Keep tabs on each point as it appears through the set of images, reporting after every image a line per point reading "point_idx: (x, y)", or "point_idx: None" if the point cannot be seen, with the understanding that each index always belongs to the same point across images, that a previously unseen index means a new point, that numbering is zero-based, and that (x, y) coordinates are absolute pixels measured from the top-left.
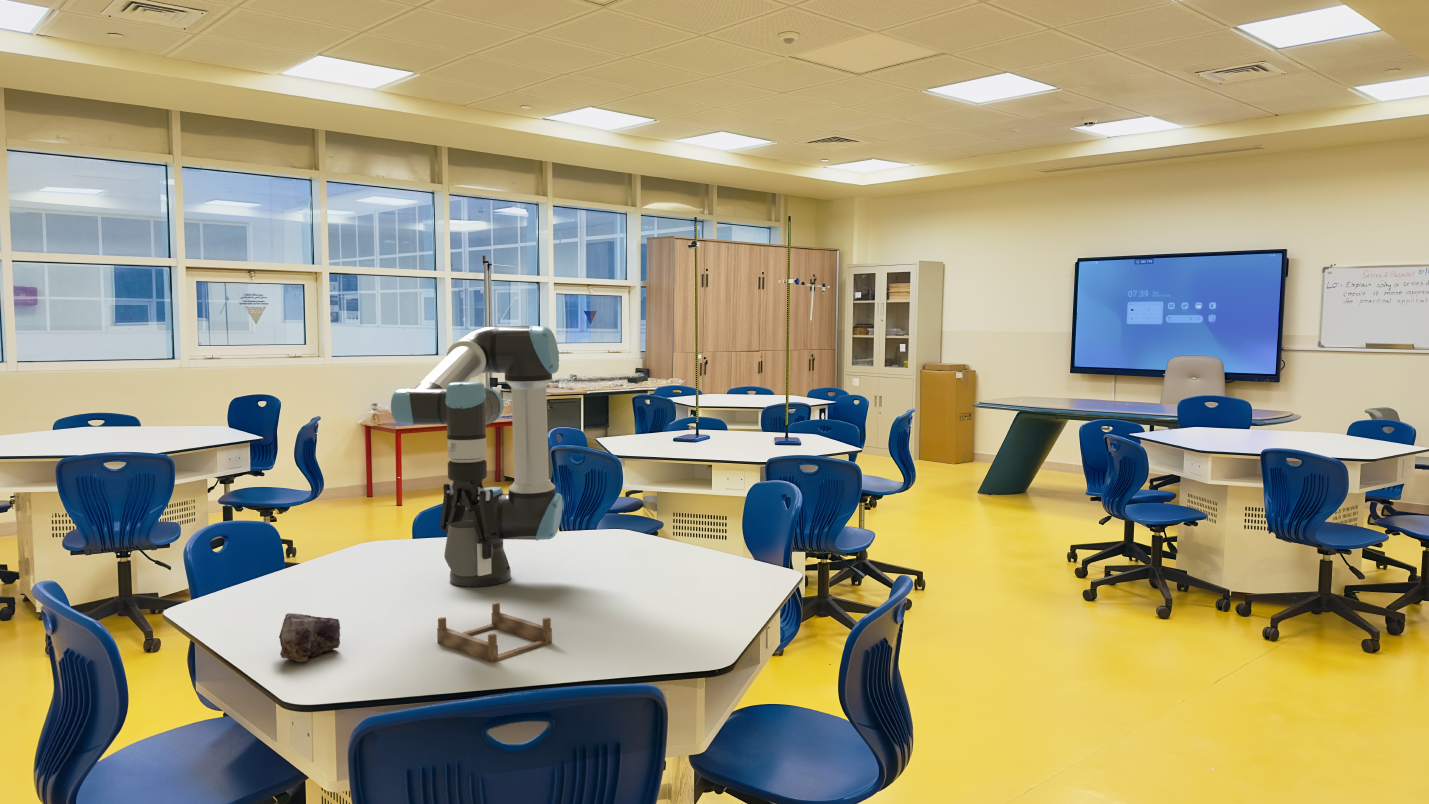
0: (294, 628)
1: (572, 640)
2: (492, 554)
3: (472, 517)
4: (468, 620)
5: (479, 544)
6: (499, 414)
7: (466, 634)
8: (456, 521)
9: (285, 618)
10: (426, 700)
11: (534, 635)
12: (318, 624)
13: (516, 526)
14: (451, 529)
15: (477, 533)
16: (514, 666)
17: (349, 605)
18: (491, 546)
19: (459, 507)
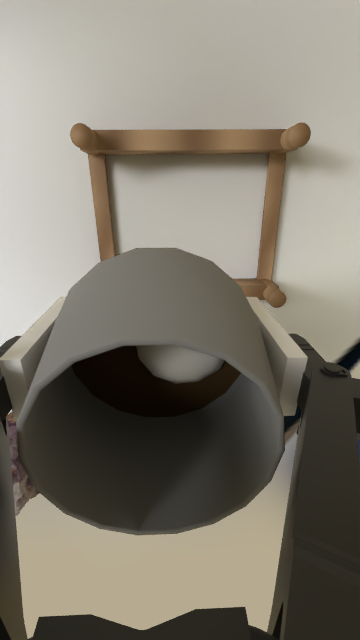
0: (24, 500)
1: (315, 86)
2: (239, 285)
3: (281, 551)
4: (6, 161)
5: (292, 410)
6: None
7: (112, 238)
8: (3, 457)
9: None
10: (298, 416)
11: (247, 152)
12: (22, 473)
13: None
14: (153, 522)
15: (295, 450)
16: (313, 276)
17: None
18: (324, 361)
19: (13, 609)
